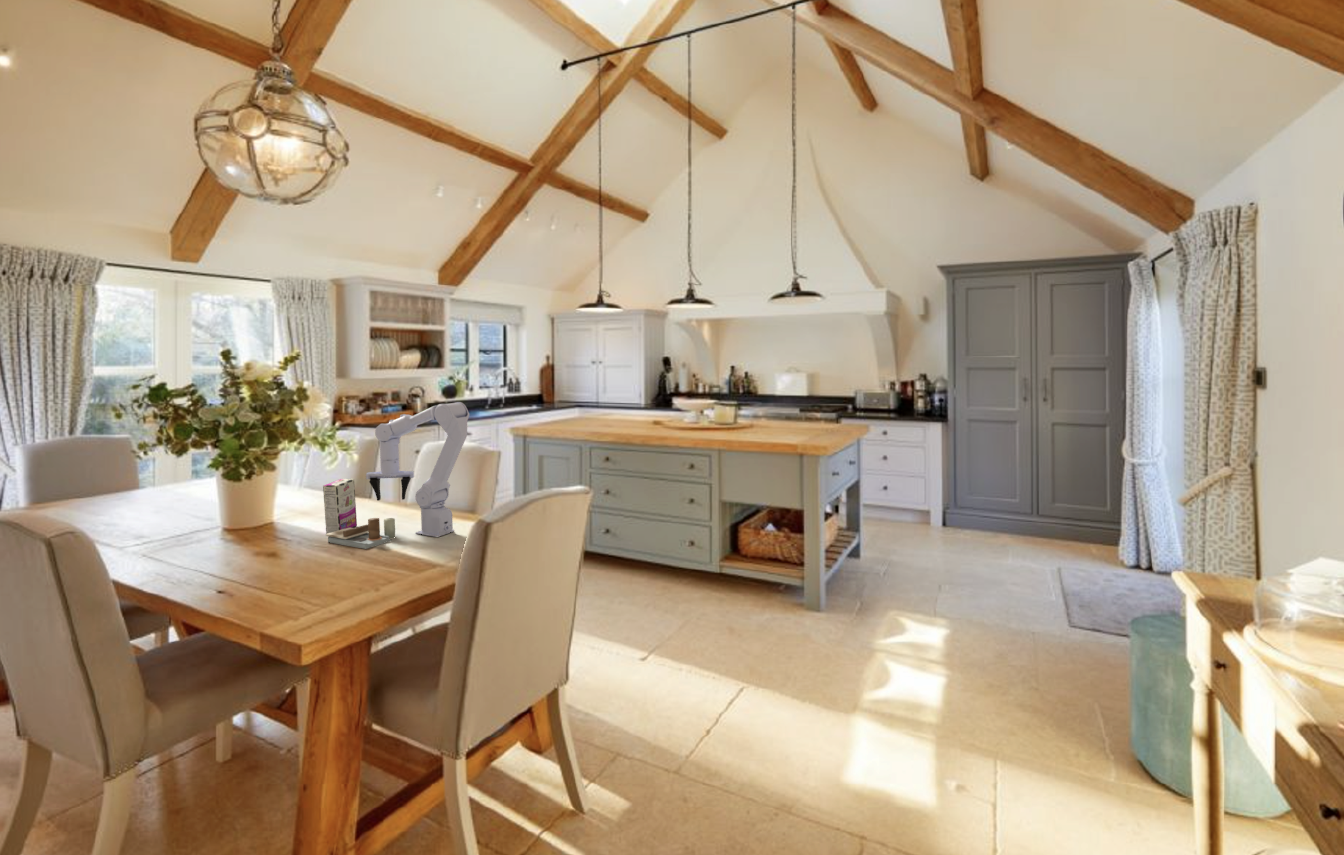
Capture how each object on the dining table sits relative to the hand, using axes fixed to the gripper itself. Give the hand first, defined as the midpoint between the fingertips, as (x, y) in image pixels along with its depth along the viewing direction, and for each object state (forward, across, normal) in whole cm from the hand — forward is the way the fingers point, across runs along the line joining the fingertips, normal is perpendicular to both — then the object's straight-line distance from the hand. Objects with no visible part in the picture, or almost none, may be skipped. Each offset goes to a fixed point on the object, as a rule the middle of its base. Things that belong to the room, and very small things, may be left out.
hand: (391, 499), depth 218 cm
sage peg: (+10, +1, -12) cm, 15 cm away
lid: (+8, -11, -12) cm, 18 cm away
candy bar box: (+10, -16, +1) cm, 19 cm away
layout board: (+10, -7, -15) cm, 19 cm away
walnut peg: (+8, -2, -16) cm, 19 cm away
